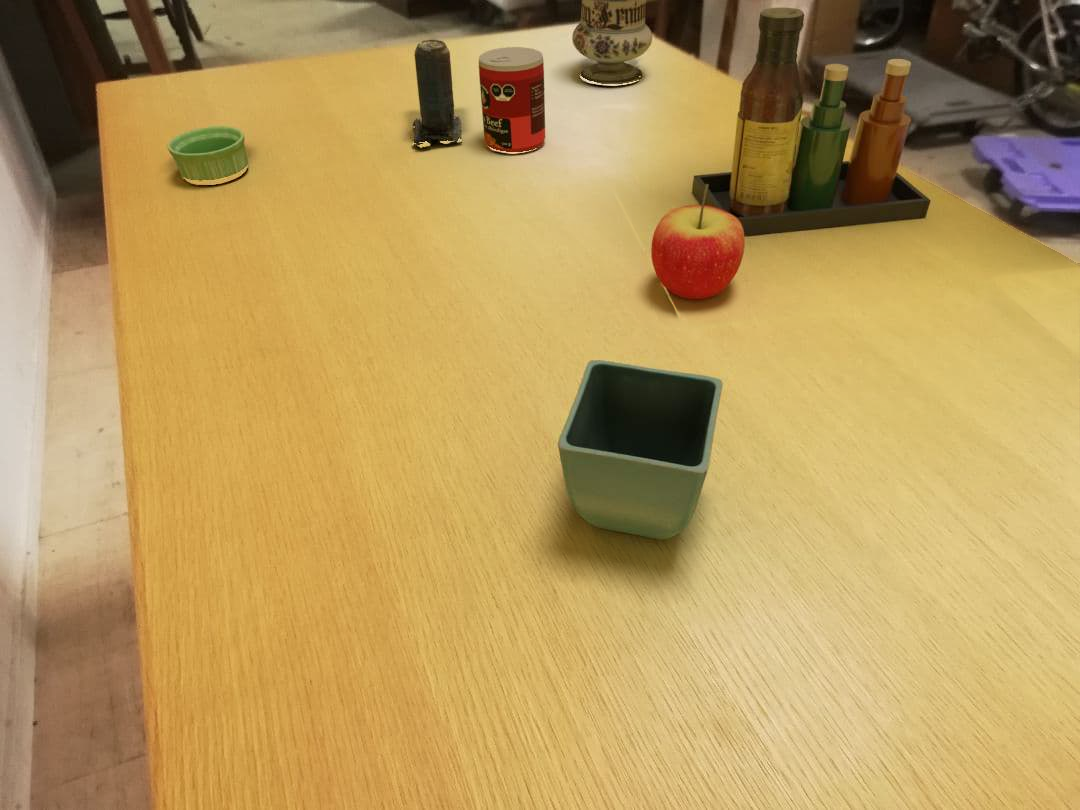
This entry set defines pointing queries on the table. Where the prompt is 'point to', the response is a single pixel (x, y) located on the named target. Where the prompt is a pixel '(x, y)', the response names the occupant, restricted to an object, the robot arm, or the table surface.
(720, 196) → the tray
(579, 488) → the flower pot
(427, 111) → the dark pillar on base
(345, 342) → the table surface
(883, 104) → the amber bottle
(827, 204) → the green bottle
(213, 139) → the ramekin
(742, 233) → the apple
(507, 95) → the canned food
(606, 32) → the apothecary jar
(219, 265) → the table surface
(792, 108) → the sauce bottle
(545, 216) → the table surface
